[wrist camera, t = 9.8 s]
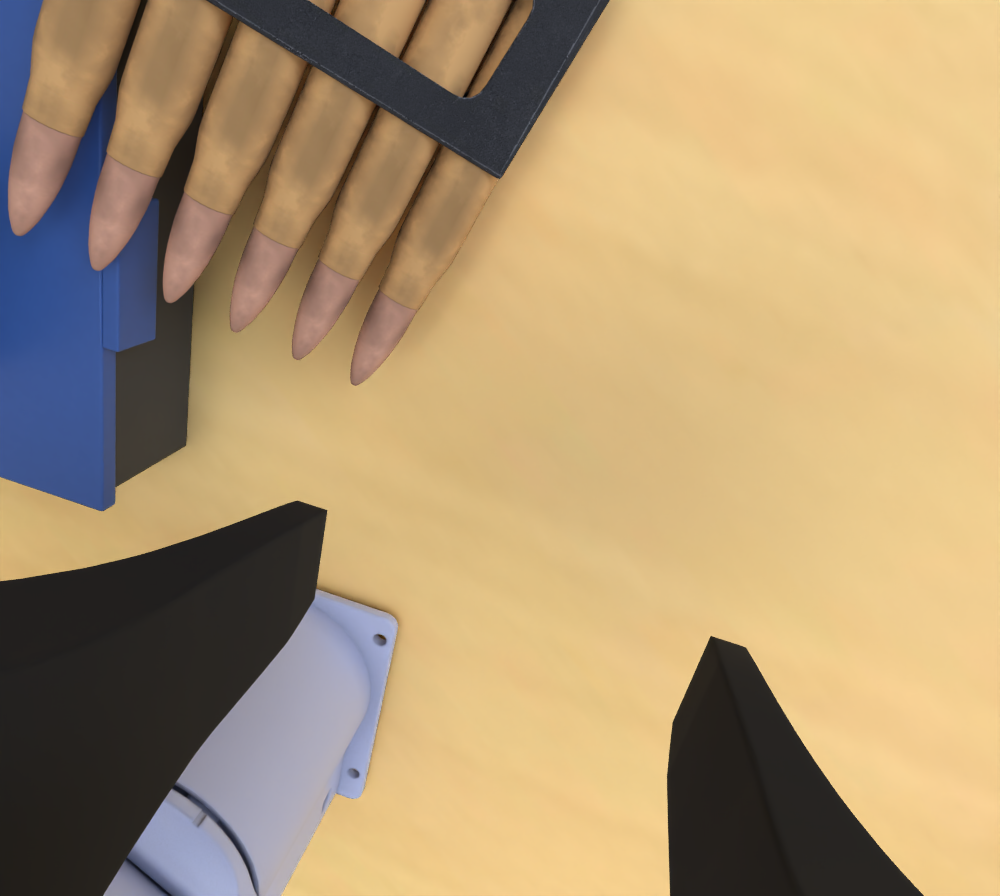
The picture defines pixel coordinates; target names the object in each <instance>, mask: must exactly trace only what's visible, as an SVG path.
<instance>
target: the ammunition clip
mask: <svg viewBox="0 0 1000 896" xmlns="http://www.w3.org/2000/svg"><path fill="white" fill-rule="evenodd" d="M425 1H426V0H340V1H339V4H338V6H337V8H336V11H335V13H334V15H333V16H332V15H330V13H331V11H332V9H333V6H334V4H335V2H336V0H148V1H147V4H146V7H145V10H144V13H143V16H142V19H141V22H140V25H139V28H138V31H137V33H136V36H135V39H134V42H133V45H132V48H131V51H130V54H129V57H128V60H127V63H126V66H125V69H124V72H123V75H122V78H121V82H120V86H119V92H118V100H117V109H116V118H115V122H114V126H113V129H112V133H111V136H110V139H109V143H108V146H107V150H106V152H107V155H106V158H105V161H104V164H103V167H102V170H101V173H100V176H99V179H98V182H97V186H96V191H95V195H94V200H93V204H92V209H91V216H90V224H89V241H88V247H89V257H90V263H91V266H92V268H93V269H94V270H96V271H100V270H102V269H104V268H105V267H106V266H107V265H109V264H110V263H111V262H112V261H113V260H114V259H115V258H116V257H117V256H118V254H119V253H120V252H121V251H122V249H123V248H124V247H125V245H126V244H127V243H128V241H129V240H130V238H131V237H132V235H133V234H134V232H135V230H136V229H137V227H138V225H139V223H140V221H141V219H142V218H143V216H144V214H145V212H146V210H147V208H148V206H149V204H150V201H151V199H152V196H153V194H154V191H155V189H156V186H157V184H158V181H159V179H160V177H162V175H163V173H164V171H165V169H166V166H167V164H168V162H169V160H170V157H171V155H172V153H173V151H174V148H175V147H176V145H177V144H178V142H179V141H180V139H181V138H182V136H183V135H184V134H185V132H186V131H187V129H188V127H189V126H190V124H191V123H192V120H193V118H194V116H195V114H196V111H197V109H198V106H199V104H200V101H201V99H202V96H203V94H204V91H205V88H206V86H207V83H208V81H209V78H210V76H211V73H212V71H213V68H214V66H215V63H216V61H217V58H218V55H219V53H220V50H221V48H222V45H223V43H224V40H225V38H226V35H227V33H228V30H229V27H230V25H231V22H232V20H233V17H234V18H236V19H237V20H239V23H238V26H237V28H236V31H235V33H234V36H233V39H232V41H231V44H230V46H229V49H228V52H227V54H226V57H225V60H224V62H223V65H222V67H221V70H220V73H219V75H218V78H217V80H216V83H215V86H214V88H213V91H212V93H211V96H210V99H209V101H208V104H207V107H206V109H205V112H204V114H203V117H202V120H201V123H200V126H199V131H198V136H197V142H196V149H195V155H194V160H193V163H192V166H191V169H190V172H189V175H188V178H187V181H186V184H185V186H184V193H183V196H182V199H181V201H180V204H179V207H178V209H177V212H176V215H175V218H174V221H173V224H172V228H171V232H170V236H169V240H168V244H167V249H166V255H165V261H164V270H163V294H164V299H165V301H166V302H168V303H173V302H175V301H176V300H178V299H179V298H180V297H181V296H182V295H184V294H185V293H186V292H187V291H188V290H189V289H190V287H191V286H192V285H193V284H194V282H195V281H196V280H197V279H198V277H199V276H200V275H201V273H202V272H203V271H204V269H205V268H206V266H207V265H208V263H209V261H210V260H211V258H212V256H213V254H214V253H215V251H216V249H217V247H218V246H219V244H220V242H221V240H222V238H223V236H224V233H225V231H226V229H227V227H228V224H229V222H230V220H231V218H232V215H233V214H235V212H236V210H237V208H238V206H239V204H240V202H241V200H242V198H243V196H244V194H245V191H246V189H247V187H248V186H249V184H250V183H251V182H252V180H253V179H254V177H255V176H256V175H257V173H258V172H259V170H260V169H261V167H262V166H263V164H264V163H265V161H266V159H267V157H268V155H269V153H270V151H271V148H272V146H273V144H274V142H275V139H276V137H277V135H278V132H279V130H280V128H281V126H282V123H283V121H284V119H285V116H286V114H287V112H288V109H289V107H290V105H291V103H292V100H293V98H294V96H295V93H296V91H297V89H298V87H299V84H300V82H301V80H302V77H303V75H304V73H305V70H306V68H307V66H308V64H311V65H312V67H311V70H310V72H309V74H308V77H307V79H306V81H305V84H304V86H303V89H302V91H301V93H300V96H299V98H298V100H297V103H296V105H295V107H294V110H293V112H292V114H291V117H290V119H289V122H288V124H287V126H286V129H285V131H284V133H283V136H282V138H281V140H280V143H279V145H278V147H277V150H276V152H275V155H274V157H273V160H272V162H271V165H270V169H269V174H268V178H267V183H266V188H265V193H264V197H263V200H262V202H261V205H260V208H259V210H258V213H257V215H256V218H255V221H254V227H253V229H252V232H251V234H250V236H249V239H248V241H247V244H246V246H245V249H244V251H243V254H242V257H241V260H240V263H239V267H238V270H237V273H236V277H235V281H234V286H233V291H232V298H231V305H230V326H231V330H232V331H233V332H236V333H237V332H240V331H241V330H242V329H244V328H245V327H246V326H247V325H249V324H250V323H251V322H252V321H253V320H254V319H255V318H256V317H257V315H258V314H259V313H260V312H261V311H262V310H263V308H264V307H265V306H266V304H267V303H268V302H269V300H270V299H271V298H272V296H273V295H274V293H275V292H276V290H277V288H278V287H279V285H280V284H281V282H282V280H283V279H284V277H285V275H286V273H287V271H288V269H289V267H290V265H291V263H292V261H293V259H294V257H295V255H296V253H297V251H298V249H299V248H300V247H301V246H302V244H303V242H304V240H305V238H306V236H307V234H308V232H309V230H310V229H311V227H312V225H313V223H314V221H315V220H316V219H317V217H318V216H319V215H320V213H321V212H322V211H323V209H324V208H325V207H326V205H327V204H328V202H329V201H330V200H331V198H332V196H333V194H334V193H335V191H336V189H337V186H338V184H339V182H340V180H341V178H342V176H343V174H344V172H345V170H346V168H347V165H348V163H349V161H350V159H351V157H352V155H353V153H354V151H355V149H356V147H357V144H358V142H359V140H360V138H361V136H362V134H363V132H364V130H365V128H366V126H367V123H368V121H369V119H370V117H371V115H372V113H373V111H374V109H375V107H376V105H378V106H380V107H379V110H378V112H377V114H376V116H375V118H374V120H373V122H372V125H371V127H370V129H369V131H368V133H367V135H366V138H365V140H364V142H363V144H362V146H361V148H360V150H359V153H358V155H357V157H356V159H355V161H354V163H353V166H352V168H351V170H350V172H349V174H348V176H347V178H346V181H345V183H344V185H343V187H342V189H341V191H340V194H339V196H338V199H337V201H336V205H335V208H334V212H333V216H332V220H331V225H330V229H329V232H328V234H327V236H326V239H325V241H324V244H323V246H322V248H321V251H320V253H319V256H318V257H319V259H318V261H317V263H316V265H315V267H314V270H313V272H312V274H311V276H310V278H309V281H308V283H307V286H306V288H305V291H304V294H303V297H302V300H301V303H300V306H299V309H298V313H297V317H296V321H295V327H294V332H293V340H292V354H293V358H294V359H296V360H300V359H302V358H303V357H305V356H306V355H307V354H308V353H310V352H311V351H312V350H313V349H314V348H315V347H316V346H317V345H318V344H319V342H320V341H321V340H322V339H323V338H324V337H325V336H326V334H327V333H328V332H329V331H330V329H331V328H332V327H333V325H334V324H335V322H336V321H337V319H338V318H339V316H340V315H341V313H342V312H343V310H344V309H345V307H346V305H347V304H348V302H349V300H350V298H351V296H352V295H353V293H354V291H355V289H356V287H357V285H358V283H359V281H360V280H361V279H362V278H363V276H364V274H365V273H366V271H367V269H368V267H369V266H370V264H371V262H372V260H373V258H374V257H375V255H376V253H377V252H378V251H379V250H380V248H381V247H382V246H383V245H384V243H385V242H386V241H387V240H388V238H389V237H390V236H391V234H392V233H393V231H394V230H395V228H396V226H397V224H398V222H399V221H400V219H401V217H402V215H403V213H404V211H405V209H406V207H407V205H408V203H409V201H410V199H411V197H412V195H413V193H414V191H415V189H416V187H417V185H418V184H419V182H420V180H421V178H422V176H423V174H424V172H425V170H426V168H427V166H428V164H429V162H430V160H431V158H432V156H433V154H434V152H435V150H436V148H437V147H438V145H439V143H440V144H442V147H441V149H440V151H439V153H438V155H437V157H436V159H435V161H434V163H433V165H432V167H431V169H430V171H429V173H428V175H427V177H426V179H425V181H424V183H423V185H422V187H421V189H420V191H419V193H418V195H417V197H416V199H415V201H414V203H413V205H412V207H411V209H410V211H409V213H408V215H407V217H406V219H405V221H404V223H403V225H402V226H401V229H400V231H399V233H398V236H397V239H396V242H395V246H394V249H393V253H392V256H391V260H390V263H389V265H388V267H387V269H386V272H385V274H384V276H383V278H382V280H381V283H380V285H379V290H378V292H377V294H376V296H375V298H374V300H373V302H372V304H371V306H370V308H369V310H368V312H367V314H366V317H365V319H364V322H363V325H362V327H361V330H360V332H359V335H358V339H357V342H356V345H355V349H354V353H353V358H352V363H351V372H350V380H351V384H353V385H355V386H356V385H359V384H360V383H362V382H363V381H365V380H366V379H367V378H368V377H370V376H371V375H372V374H373V373H374V372H375V371H376V370H377V369H378V367H379V366H380V365H381V364H382V363H383V362H384V361H385V360H386V358H387V357H388V356H389V355H390V353H391V352H392V351H393V349H394V348H395V346H396V345H397V343H398V342H399V341H400V339H401V338H402V336H403V335H404V333H405V331H406V330H407V328H408V326H409V324H410V322H411V321H412V319H413V317H414V315H415V314H416V312H417V310H419V309H420V307H421V305H422V304H423V302H424V300H425V299H426V297H427V295H428V294H429V292H430V290H431V289H432V287H433V286H434V284H435V283H436V282H437V281H438V280H439V278H440V277H441V276H442V275H443V274H444V272H445V271H446V270H447V269H448V267H449V266H450V265H451V263H452V262H453V260H454V258H455V257H456V255H457V253H458V251H459V249H460V248H461V246H462V244H463V242H464V240H465V239H466V237H467V235H468V233H469V231H470V229H471V228H472V226H473V224H474V222H475V220H476V219H477V217H478V215H479V213H480V211H481V209H482V208H483V206H484V204H485V202H486V200H487V199H488V197H489V195H490V193H491V191H492V190H493V188H494V186H495V184H496V182H497V180H498V179H500V178H501V177H502V176H503V174H504V173H505V171H506V169H507V168H508V166H509V164H510V163H511V161H512V159H513V158H514V156H515V155H516V153H517V151H518V150H519V148H520V146H521V145H522V143H523V141H524V140H525V138H526V136H527V135H528V133H529V132H530V130H531V128H532V127H533V125H534V123H535V122H536V120H537V118H538V117H539V115H540V114H541V112H542V110H543V109H544V107H545V105H546V104H547V102H548V100H549V99H550V97H551V95H552V94H553V92H554V91H555V89H556V87H557V86H558V84H559V82H560V81H561V79H562V77H563V76H564V74H565V72H566V71H567V69H568V68H569V66H570V64H571V63H572V61H573V59H574V58H575V56H576V54H577V53H578V51H579V49H580V48H581V46H582V45H583V43H584V41H585V40H586V38H587V36H588V35H589V33H590V31H591V30H592V28H593V26H594V25H595V23H596V22H597V20H598V18H599V17H600V15H601V13H602V12H603V10H604V8H605V7H606V5H607V4H608V2H609V0H515V1H514V3H513V5H512V7H511V9H510V11H509V13H508V15H507V17H506V19H505V21H504V23H503V25H502V27H501V29H500V31H499V33H498V35H497V37H496V39H495V41H494V43H493V45H492V47H491V49H490V51H489V53H488V55H487V57H486V59H485V61H484V63H483V65H482V67H481V69H480V71H479V73H478V75H477V77H476V79H475V81H474V83H473V85H472V87H471V88H470V89H469V90H468V91H467V92H466V90H467V88H468V86H469V84H470V82H471V80H472V78H473V76H474V75H475V73H476V71H477V69H478V67H479V65H480V63H481V61H482V59H483V57H484V55H485V53H486V51H487V49H488V47H489V45H490V43H491V41H492V40H493V38H494V36H495V34H496V32H497V30H498V28H499V26H500V24H501V22H502V20H503V18H504V16H505V14H506V12H507V10H508V8H509V6H510V4H511V3H512V1H513V0H429V2H428V4H427V6H426V8H425V10H424V13H423V15H422V17H421V19H420V21H419V23H418V25H417V28H416V30H415V32H414V34H413V36H412V38H411V41H410V43H409V45H408V47H407V49H406V51H405V53H404V56H403V58H402V60H400V59H398V58H399V56H400V54H401V52H402V50H403V48H404V46H405V44H406V41H407V39H408V37H409V35H410V33H411V31H412V29H413V27H414V25H415V22H416V20H417V18H418V16H419V14H420V12H421V10H422V8H423V6H424V4H425ZM140 2H141V0H43V3H42V6H41V9H40V13H39V16H38V20H37V23H36V27H35V31H34V35H33V41H32V52H31V69H30V78H29V82H28V86H27V90H26V94H25V98H24V102H23V106H22V109H23V113H22V116H21V120H20V123H19V127H18V130H17V134H16V138H15V141H14V146H13V152H12V158H11V164H10V170H9V180H8V211H9V219H10V223H11V228H12V231H13V233H14V234H15V235H17V236H23V235H25V234H26V233H28V232H29V231H30V230H31V229H32V228H33V227H34V226H35V225H36V224H37V223H38V222H39V221H40V219H41V218H42V217H43V215H44V214H45V213H46V211H47V210H48V208H49V207H50V206H51V204H52V202H53V201H54V199H55V198H56V196H57V194H58V193H59V191H60V189H61V187H62V185H63V183H64V181H65V179H66V177H67V175H68V173H69V170H70V168H71V166H72V163H73V161H74V158H75V155H76V153H77V150H78V147H79V144H80V141H81V139H82V137H83V136H84V135H85V132H86V130H87V127H88V125H89V122H90V120H91V117H92V115H93V112H94V110H95V107H96V105H97V104H98V102H99V100H100V99H101V97H102V96H103V94H104V92H105V91H106V89H107V88H108V86H109V84H110V83H111V81H112V79H113V77H114V75H115V73H116V70H117V68H118V65H119V62H120V59H121V56H122V53H123V50H124V48H125V45H126V42H127V39H128V36H129V33H130V30H131V27H132V25H133V22H134V19H135V16H136V13H137V10H138V7H139V5H140Z"/></svg>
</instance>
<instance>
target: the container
mask: <svg viewBox="0 0 1000 896" xmlns="http://www.w3.org/2000/svg"><path fill="white" fill-rule="evenodd" d="M147 1H148V0H141V2H140V5H139V7H138V10H137V13H136V16H135V19H134V22H133V25H132V27H131V30H130V33H129V36H128V39H127V42H126V45H125V48H124V50H123V53H122V56H121V59H120V62H119V65H118V68H117V70H116V73H115V75H114V77H113V79H112V81H111V83H110V84H109V86H108V88H107V89H106V91H105V92H104V94H103V96H102V97H101V99H100V100H99V102H98V104H97V105H96V107H95V110H94V112H93V115H92V117H91V120H90V122H89V125H88V127H87V130H86V132H85V135H84V136H83V137H82V139H81V141H80V144H79V147H78V150H77V153H76V155H75V158H74V161H73V163H72V166H71V168H70V170H69V173H68V175H67V177H66V179H65V181H64V183H63V185H62V187H61V189H60V191H59V193H58V194H57V196H56V198H55V199H54V201H53V202H52V204H51V206H50V207H49V208H48V210H47V211H46V213H45V214H44V215H43V217H42V218H41V219H40V221H39V222H38V223H37V224H36V225H35V226H34V227H33V228H32V229H31V230H30V231H29V232H28V233H26V234H25V235H23V236H17V235H15V234H14V233H13V231H12V228H11V223H10V219H9V211H8V180H9V170H10V164H11V158H12V152H13V146H14V141H15V138H16V134H17V130H18V127H19V123H20V120H21V116H22V113H23V109H22V106H23V102H24V98H25V94H26V90H27V86H28V82H29V78H30V69H31V52H32V41H33V35H34V31H35V27H36V23H37V20H38V16H39V13H40V9H41V6H42V3H43V0H0V477H2V478H5V479H8V480H11V481H14V482H17V483H19V484H22V485H25V486H28V487H31V488H34V489H37V490H40V491H43V492H46V493H49V494H52V495H55V496H58V497H61V498H64V499H67V500H70V501H73V502H76V503H79V504H81V505H84V506H87V507H90V508H93V509H96V510H99V511H104V510H106V509H107V508H109V507H111V506H112V505H114V504H115V487H117V486H119V485H120V484H122V483H124V482H125V481H127V480H129V479H130V478H132V477H134V476H135V475H137V474H139V473H140V472H142V471H144V470H146V469H147V468H149V467H151V466H152V465H154V464H156V463H157V462H159V461H161V460H162V459H164V458H166V457H167V456H169V455H171V454H173V453H174V452H176V451H178V450H179V449H181V448H183V447H184V446H186V436H187V415H188V395H189V374H190V354H191V334H192V313H193V293H194V284H193V285H192V286H191V287H190V289H189V290H188V291H187V292H186V293H185V294H184V295H182V296H181V297H180V298H179V299H178V300H176V301H175V302H173V303H168V302H166V301H165V299H164V294H163V270H164V261H165V255H166V249H167V244H168V240H169V236H170V232H171V228H172V224H173V221H174V218H175V215H176V212H177V209H178V207H179V204H180V201H181V199H182V196H183V193H184V186H185V184H186V181H187V178H188V175H189V172H190V169H191V166H192V163H193V160H194V155H195V149H196V142H197V136H198V131H199V126H200V123H201V120H202V109H203V96H202V99H201V101H200V104H199V106H198V109H197V111H196V114H195V116H194V118H193V120H192V123H191V124H190V126H189V127H188V129H187V131H186V132H185V134H184V135H183V136H182V138H181V139H180V141H179V142H178V144H177V145H176V147H175V148H174V151H173V153H172V155H171V157H170V160H169V162H168V164H167V166H166V169H165V171H164V173H163V175H162V177H160V179H159V181H158V184H157V186H156V189H155V191H154V194H153V196H152V199H151V201H150V204H149V206H148V208H147V210H146V212H145V214H144V216H143V218H142V219H141V221H140V223H139V225H138V227H137V229H136V230H135V232H134V234H133V235H132V237H131V238H130V240H129V241H128V243H127V244H126V245H125V247H124V248H123V249H122V251H121V252H120V253H119V254H118V256H117V257H116V258H115V259H114V260H113V261H112V262H111V263H110V264H109V265H107V266H106V267H105V268H104V269H102V270H100V271H96V270H94V269H93V268H92V266H91V263H90V257H89V247H88V241H89V224H90V216H91V209H92V204H93V200H94V195H95V191H96V186H97V182H98V179H99V176H100V173H101V170H102V167H103V164H104V161H105V158H106V155H107V152H106V150H107V146H108V143H109V139H110V136H111V133H112V129H113V126H114V122H115V118H116V109H117V100H118V92H119V86H120V82H121V78H122V75H123V72H124V69H125V66H126V63H127V60H128V57H129V54H130V51H131V48H132V45H133V42H134V39H135V36H136V33H137V31H138V28H139V25H140V22H141V19H142V16H143V13H144V10H145V7H146V4H147Z"/></svg>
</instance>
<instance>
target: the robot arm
mask: <svg viewBox="0 0 1000 896" xmlns="http://www.w3.org/2000/svg"><path fill="white" fill-rule="evenodd" d="M326 516H327V510H325V509H321V508H318V507H315V506H312V505H309V504H306V503H303V502H300V501H294V502H291V503H288V504H285V505H282V506H279V507H277V508H274V509H271V510H269V511H266V512H263V513H261V514H258V515H256V516H253V517H250V518H248V519H245V520H243V521H240V522H237V523H234V524H232V525H229V526H226V527H224V528H221V529H218V530H216V531H213V532H210V533H207V534H205V535H202V536H199V537H195V538H192V539H189V540H186V541H183V542H180V543H177V544H174V545H171V546H168V547H164V548H161V549H158V550H155V551H152V552H148V553H145V554H141V555H138V556H134V557H130V558H126V559H122V560H118V561H114V562H109V563H105V564H101V565H97V566H92V567H87V568H82V569H77V570H71V571H65V572H59V573H53V574H47V575H41V576H35V577H29V578H23V579H16V580H7V581H0V896H281V895H282V893H283V891H284V889H285V887H286V885H287V884H288V882H289V880H290V878H291V876H292V874H293V872H294V870H295V869H296V867H297V865H298V863H299V861H300V859H301V857H302V855H303V854H304V852H305V850H306V848H307V846H308V844H309V842H310V840H311V839H312V837H313V835H314V833H315V831H316V829H317V827H318V825H319V824H320V822H321V820H322V818H323V816H324V814H325V812H326V810H327V809H328V807H329V805H330V803H331V801H332V799H333V797H334V795H335V794H336V793H337V794H339V795H342V796H345V797H347V798H351V799H355V798H359V797H360V796H361V794H362V792H363V790H364V788H365V783H366V778H367V774H368V769H369V764H370V759H371V754H372V750H373V745H374V740H375V735H376V731H377V726H378V721H379V716H380V712H381V707H382V702H383V697H384V692H385V688H386V683H387V678H388V673H389V669H390V664H391V659H392V654H393V649H394V645H395V640H396V635H397V630H398V623H397V621H396V619H395V618H394V617H393V616H392V615H390V614H388V613H386V612H383V611H380V610H377V609H374V608H371V607H368V606H365V605H363V604H360V603H357V602H354V601H351V600H348V599H345V598H342V597H339V596H336V595H333V594H330V593H327V592H324V591H321V590H318V589H316V586H317V579H318V572H319V565H320V558H321V551H322V544H323V537H324V530H325V523H326ZM377 634H381V635H383V636H384V637H385V638H386V639H382V638H380V637H379V636H378V635H377ZM356 770H357V771H356ZM667 797H668V837H669V872H670V896H924V895H923V894H922V893H921V892H920V891H919V890H918V889H917V888H916V887H915V886H914V885H913V884H912V883H911V882H910V880H909V879H908V878H907V877H906V876H905V875H904V874H903V873H902V872H901V871H900V870H899V868H898V867H897V866H896V865H895V864H894V863H893V862H892V861H891V859H890V858H889V857H888V856H887V855H886V854H885V853H884V851H883V850H882V849H881V848H880V847H879V845H878V844H877V843H876V842H875V840H874V839H873V838H872V837H871V836H870V834H869V833H868V832H867V831H866V829H865V828H864V827H863V826H862V824H861V823H860V822H859V821H858V820H857V818H856V817H855V816H854V815H853V813H852V812H851V811H850V809H849V808H848V807H847V805H846V804H845V803H844V802H843V800H842V799H841V798H840V796H839V795H838V794H837V792H836V791H835V789H834V788H833V786H832V785H831V784H830V782H829V781H828V779H827V778H826V776H825V775H824V774H823V772H822V771H821V769H820V768H819V767H818V765H817V764H816V762H815V761H814V759H813V758H812V756H811V755H810V753H809V752H808V750H807V749H806V747H805V746H804V744H803V743H802V741H801V739H800V738H799V736H798V735H797V733H796V731H795V730H794V728H793V727H792V725H791V723H790V722H789V720H788V719H787V717H786V715H785V714H784V712H783V710H782V709H781V707H780V705H779V704H778V702H777V700H776V698H775V697H774V695H773V693H772V692H771V690H770V688H769V686H768V685H767V683H766V681H765V679H764V678H763V676H762V674H761V672H760V671H759V669H758V667H757V665H756V664H755V662H754V660H753V659H752V657H751V655H750V654H749V652H748V650H747V649H746V647H743V646H740V645H737V644H734V643H731V642H728V641H724V640H721V639H718V638H715V637H712V636H711V637H710V639H709V641H708V644H707V646H706V648H705V650H704V653H703V655H702V657H701V659H700V662H699V664H698V666H697V669H696V671H695V673H694V675H693V678H692V680H691V682H690V684H689V687H688V689H687V691H686V693H685V696H684V698H683V700H682V703H681V705H680V707H679V709H678V712H677V714H676V716H675V718H674V721H673V725H672V734H671V743H670V751H669V762H668V773H667Z"/></svg>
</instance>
